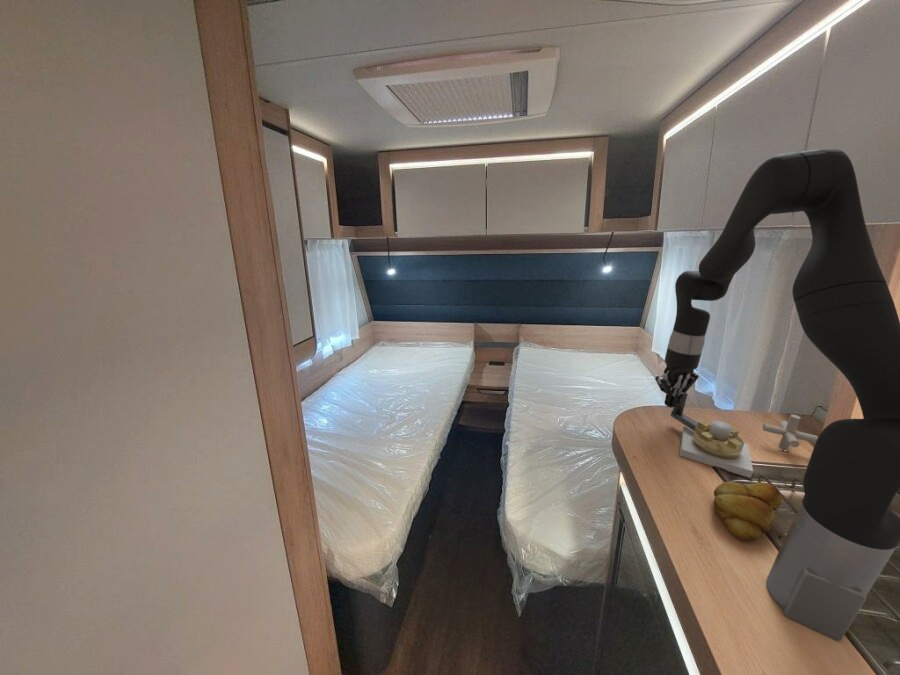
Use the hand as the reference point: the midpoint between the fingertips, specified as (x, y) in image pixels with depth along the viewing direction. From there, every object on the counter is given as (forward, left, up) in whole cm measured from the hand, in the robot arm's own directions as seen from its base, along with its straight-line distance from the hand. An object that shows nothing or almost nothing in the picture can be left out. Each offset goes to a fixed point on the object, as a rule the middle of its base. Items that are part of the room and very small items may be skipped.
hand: (669, 405), depth 96 cm
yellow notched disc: (-2, -8, -5) cm, 10 cm away
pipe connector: (+7, -26, -8) cm, 28 cm away
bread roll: (-27, -15, -8) cm, 32 cm away
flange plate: (-5, -11, -8) cm, 15 cm away
